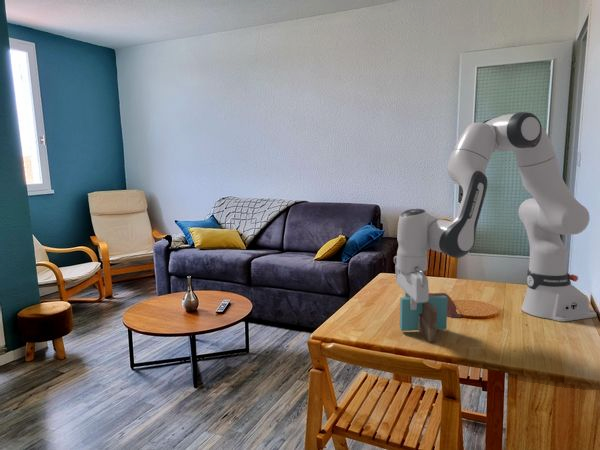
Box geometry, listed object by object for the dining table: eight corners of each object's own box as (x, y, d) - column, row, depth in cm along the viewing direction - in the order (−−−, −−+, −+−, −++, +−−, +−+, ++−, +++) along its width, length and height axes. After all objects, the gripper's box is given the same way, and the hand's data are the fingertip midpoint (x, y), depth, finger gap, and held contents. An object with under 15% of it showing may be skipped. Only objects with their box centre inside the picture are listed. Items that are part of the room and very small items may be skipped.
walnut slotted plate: (417, 321, 140) (418, 292, 139) (435, 342, 125) (436, 309, 123) (411, 322, 140) (412, 292, 139) (429, 342, 125) (430, 309, 123)
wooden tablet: (463, 320, 143) (464, 315, 143) (432, 318, 144) (432, 314, 144) (449, 294, 169) (449, 290, 169) (423, 293, 170) (423, 289, 170)
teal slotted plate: (443, 326, 134) (444, 295, 132) (446, 328, 132) (447, 297, 130) (399, 328, 133) (400, 297, 131) (401, 330, 131) (402, 299, 129)
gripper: (435, 271, 119) (433, 319, 121) (411, 255, 139) (410, 296, 141) (412, 272, 118) (411, 320, 121) (392, 256, 139) (391, 297, 141)
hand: (410, 307), depth 131 cm, fingers closed on teal slotted plate, 2 cm apart
